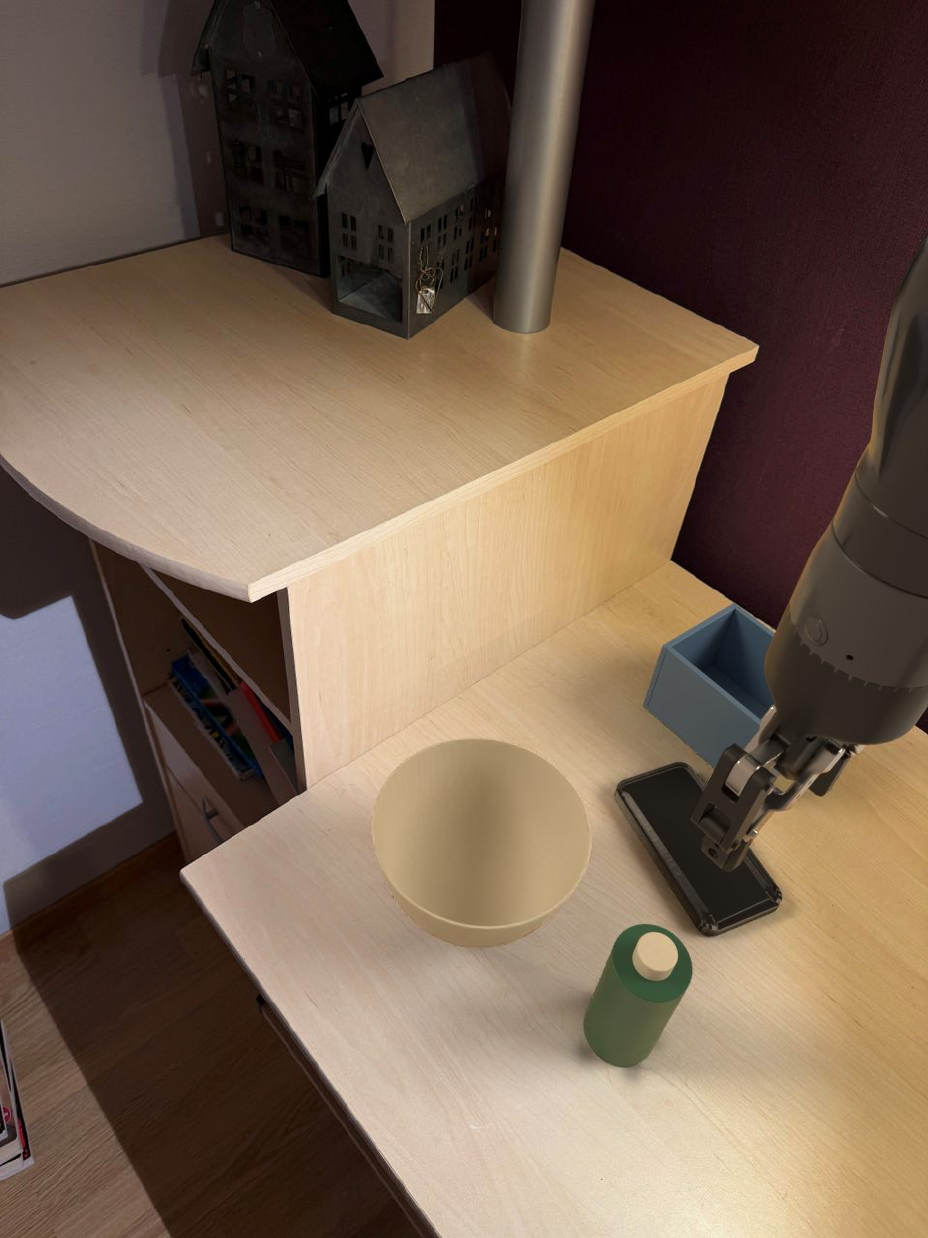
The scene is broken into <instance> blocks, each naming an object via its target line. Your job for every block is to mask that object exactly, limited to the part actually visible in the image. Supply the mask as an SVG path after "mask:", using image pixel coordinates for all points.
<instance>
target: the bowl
mask: <svg viewBox="0 0 928 1238" xmlns="http://www.w3.org/2000/svg"><path fill="white" fill-rule="evenodd" d="M372 809H373V810H372V814H371V821H370V823H371V825H370V832H371V833H370V834H371V841H372V848H373V851H374V855H375V858H376V861H377V863H378V867H379V868H380V870H381V873H382V875H383V878H384V880H385V882H386V884H387V886H388V889H389V891H390V892H391V894H392V896H393V898H394V900H395V901H396V903H397V904H398V906H399V907H400V908H401V909H402V911H403V912H404V914H405V915H406V916H407V917H408V918H409V919H410V920H411V921H412V922H413V923H414V924H415V925H416V926H418V927H419V928H420V929H422V930H423V931H424V932H426V933H427V934H428V935H430V936H432V937H434V938H436V939H438V940H440V941H443V942H445V943H448V944H451V945H455V946H458V947H464V948H471V949H489V948H495V947H502V946H505V945H508V944H511V943H514V942H516V941H520V940H521V939H523V938H525V937H527V936H528V935H530V934H532V933H533V932H535V931H536V930H537V929H539V928H540V927H541V926H543V925H544V924H545V923H546V922H547V921H548V920H549V919H551V918H552V917H553V916H554V914H555V913H556V912H557V911H558V910H559V909H560V908H561V907H562V906H563V905H564V904H565V903H566V902H567V901H568V899H569V898H570V897H571V896H572V895H573V893H574V892H575V891H576V889H577V888H578V886H579V885H580V883H581V881H582V880H583V878H584V875H585V873H586V872H587V868H588V866H589V862H590V859H591V853H592V845H593V835H592V826H591V820H590V816H589V812H588V810H587V807H586V805H585V803H584V800H583V799H582V796H581V795H580V793H579V791H578V790H577V788H576V787H575V785H574V784H573V782H571V780H570V779H569V778H568V777H567V776H566V774H565V773H563V771H562V770H560V768H559V767H557V766H556V765H555V764H554V763H552V762H551V761H549V760H548V759H547V758H546V757H544V756H542V755H540V754H539V753H537V752H535V751H534V750H532V749H530V748H528V747H525V746H522V745H520V744H517V743H514V742H511V741H507V740H503V739H499V738H493V737H480V736H476V737H475V736H474V737H473V736H471V737H470V736H469V737H467V736H466V737H458V738H452V739H448V740H447V739H446V740H443V741H439V742H436V743H433V744H431V745H428V746H426V747H424V748H421V749H420V750H418V751H416V752H415V753H413V754H411V755H410V756H408V757H407V758H405V760H404V761H402V762H400V764H399V765H398V766H397V767H396V768H395V769H394V770H393V771H391V773H390V774H389V776H388V777H387V778H386V780H385V781H384V783H383V784H382V785H381V787H380V790H379V792H378V794H377V796H376V799H375V802H374V805H373V808H372Z"/></svg>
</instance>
